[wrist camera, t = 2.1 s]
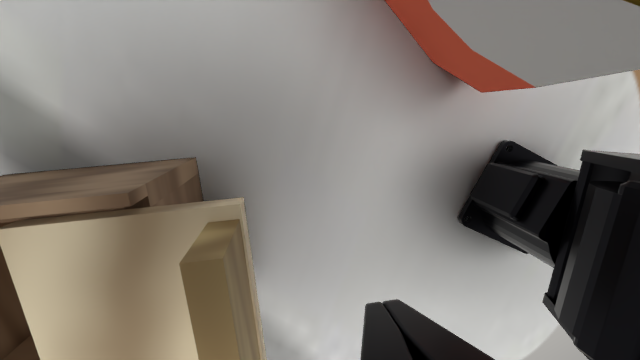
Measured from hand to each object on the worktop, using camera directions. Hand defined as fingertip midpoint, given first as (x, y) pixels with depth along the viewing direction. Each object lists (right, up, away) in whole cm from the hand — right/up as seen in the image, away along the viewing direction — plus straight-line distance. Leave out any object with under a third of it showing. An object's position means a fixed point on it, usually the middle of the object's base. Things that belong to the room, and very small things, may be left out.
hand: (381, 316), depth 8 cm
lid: (-9, -2, +5) cm, 10 cm away
